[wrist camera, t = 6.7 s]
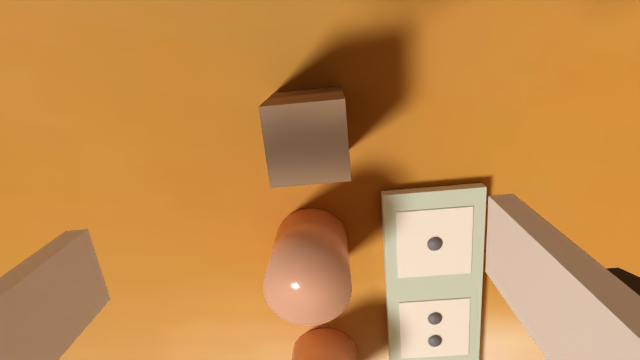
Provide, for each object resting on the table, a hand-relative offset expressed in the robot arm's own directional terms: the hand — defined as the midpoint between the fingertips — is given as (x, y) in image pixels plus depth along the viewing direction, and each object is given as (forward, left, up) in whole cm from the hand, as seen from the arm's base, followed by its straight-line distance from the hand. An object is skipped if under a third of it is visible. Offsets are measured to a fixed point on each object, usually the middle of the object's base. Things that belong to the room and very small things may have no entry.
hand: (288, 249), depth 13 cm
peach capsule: (+9, -1, -18) cm, 21 cm away
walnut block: (-1, 0, -18) cm, 18 cm away
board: (+18, +9, -18) cm, 27 cm away
